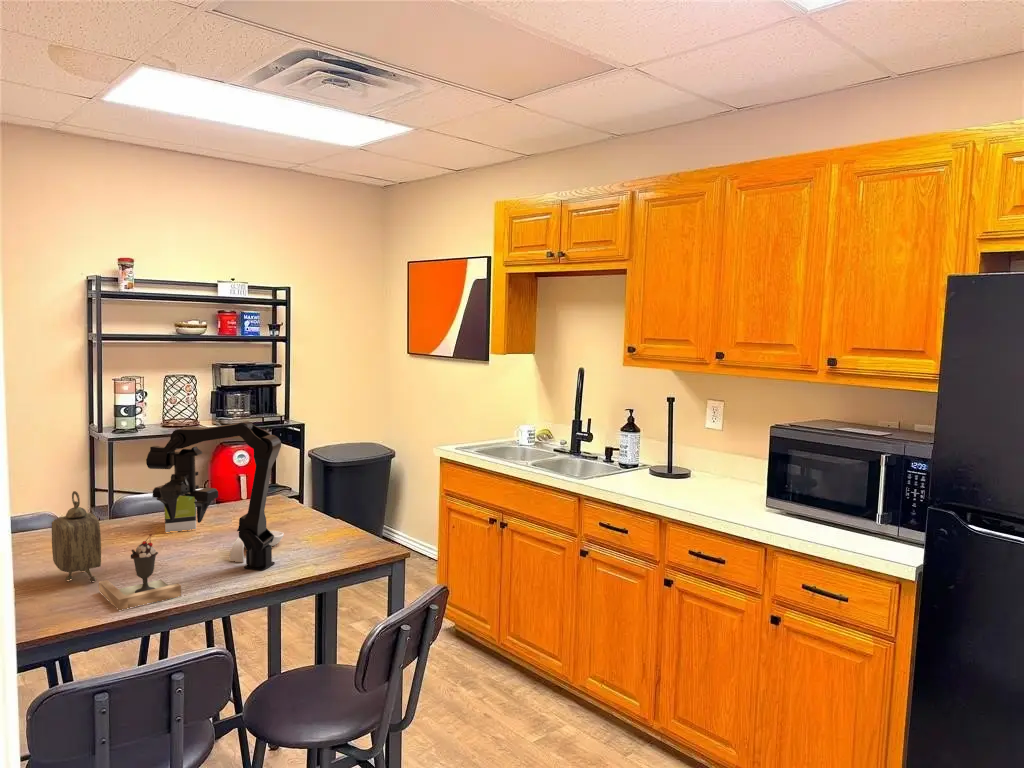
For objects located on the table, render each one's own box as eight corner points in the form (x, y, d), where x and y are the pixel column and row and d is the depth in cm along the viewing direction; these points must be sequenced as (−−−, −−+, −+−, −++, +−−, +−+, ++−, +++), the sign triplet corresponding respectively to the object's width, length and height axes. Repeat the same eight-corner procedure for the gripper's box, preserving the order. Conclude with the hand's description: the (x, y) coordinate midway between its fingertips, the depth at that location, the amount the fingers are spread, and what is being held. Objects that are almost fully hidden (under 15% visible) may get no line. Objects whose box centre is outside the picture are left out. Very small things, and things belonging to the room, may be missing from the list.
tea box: (165, 522, 261) (164, 482, 259) (195, 520, 265) (194, 480, 264) (164, 534, 247) (163, 491, 246) (196, 531, 251) (195, 489, 250)
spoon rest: (257, 539, 244) (256, 518, 243) (290, 541, 242) (289, 520, 241) (218, 562, 220) (218, 539, 220) (254, 564, 219) (254, 541, 218)
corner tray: (158, 579, 204) (158, 569, 204) (181, 596, 192) (180, 585, 192) (99, 592, 193) (98, 581, 193) (119, 611, 181) (118, 599, 181)
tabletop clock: (102, 582, 201) (99, 494, 198) (64, 590, 194) (61, 499, 192) (88, 569, 211) (85, 485, 209) (52, 576, 205) (49, 489, 203)
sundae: (162, 586, 198) (161, 532, 196) (153, 595, 191) (152, 539, 190) (137, 586, 197) (136, 532, 195) (127, 596, 190) (126, 540, 189)
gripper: (138, 473, 209) (139, 525, 211) (194, 477, 205) (195, 531, 206) (165, 465, 220) (166, 516, 222) (219, 469, 216) (219, 521, 217)
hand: (186, 521), depth 216 cm, fingers open, 9 cm apart
